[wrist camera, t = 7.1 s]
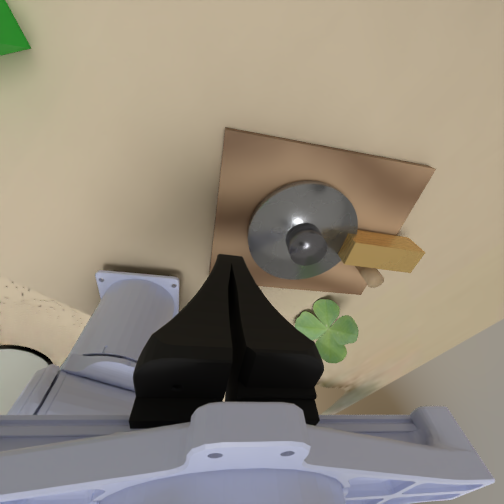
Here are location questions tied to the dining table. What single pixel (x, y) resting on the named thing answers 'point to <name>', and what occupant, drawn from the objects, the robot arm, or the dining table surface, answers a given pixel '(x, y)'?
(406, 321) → the dining table surface
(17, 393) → the water bottle
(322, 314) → the seedling
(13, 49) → the mechanical part
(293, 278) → the pan with wooden handle
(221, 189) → the board
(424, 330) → the dining table surface
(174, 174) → the dining table surface
